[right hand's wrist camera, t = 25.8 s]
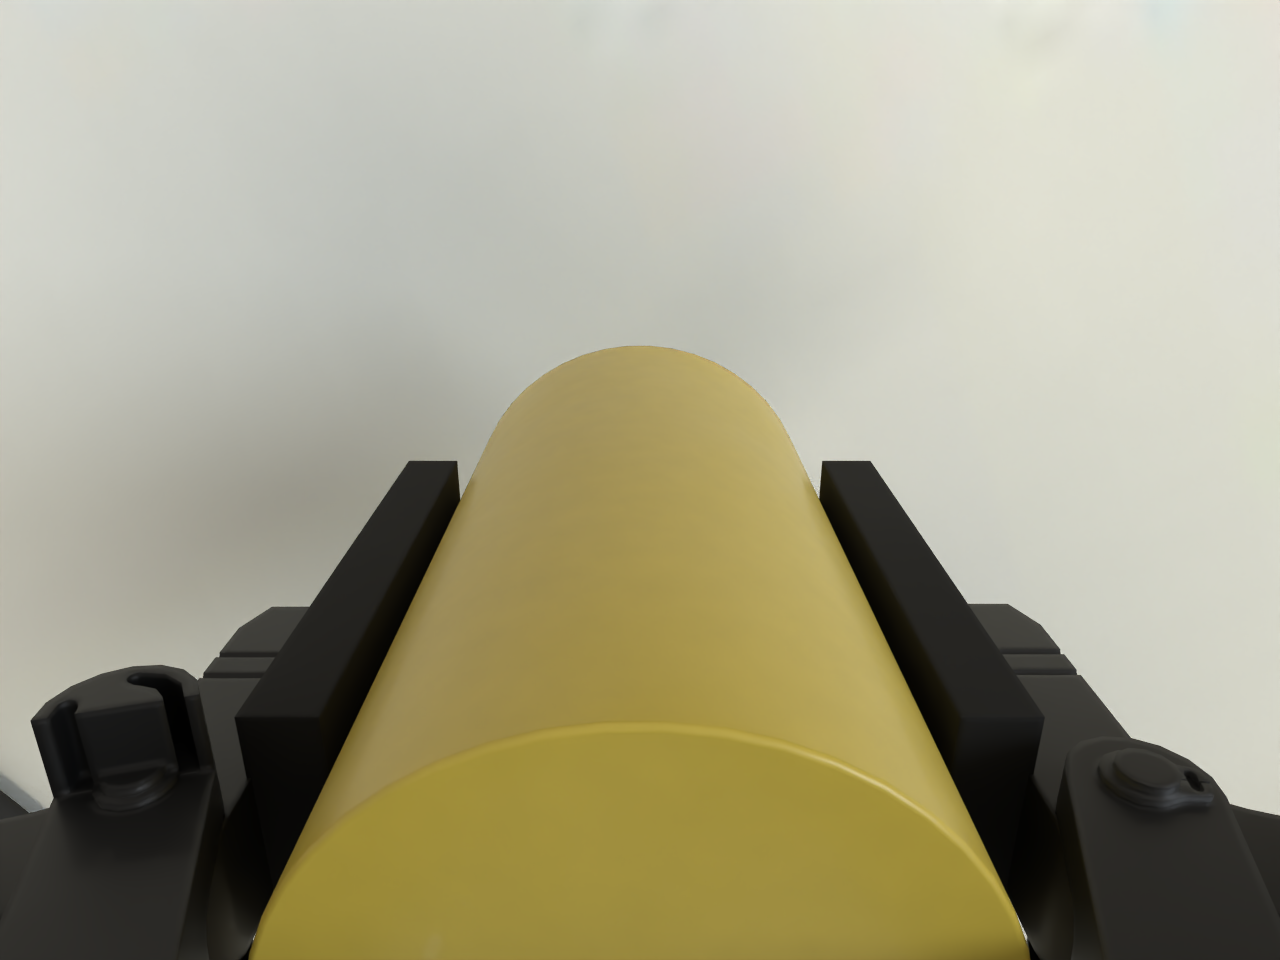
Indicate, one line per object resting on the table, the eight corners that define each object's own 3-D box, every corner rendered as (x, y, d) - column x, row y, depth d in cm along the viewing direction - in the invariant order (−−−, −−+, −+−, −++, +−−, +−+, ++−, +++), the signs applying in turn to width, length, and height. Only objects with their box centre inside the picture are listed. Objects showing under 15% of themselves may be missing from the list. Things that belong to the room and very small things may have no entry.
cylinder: (461, 615, 17) (233, 1243, 7) (500, 315, 15) (252, 658, 5) (758, 664, 17) (902, 1318, 8) (838, 378, 15) (1168, 802, 6)
